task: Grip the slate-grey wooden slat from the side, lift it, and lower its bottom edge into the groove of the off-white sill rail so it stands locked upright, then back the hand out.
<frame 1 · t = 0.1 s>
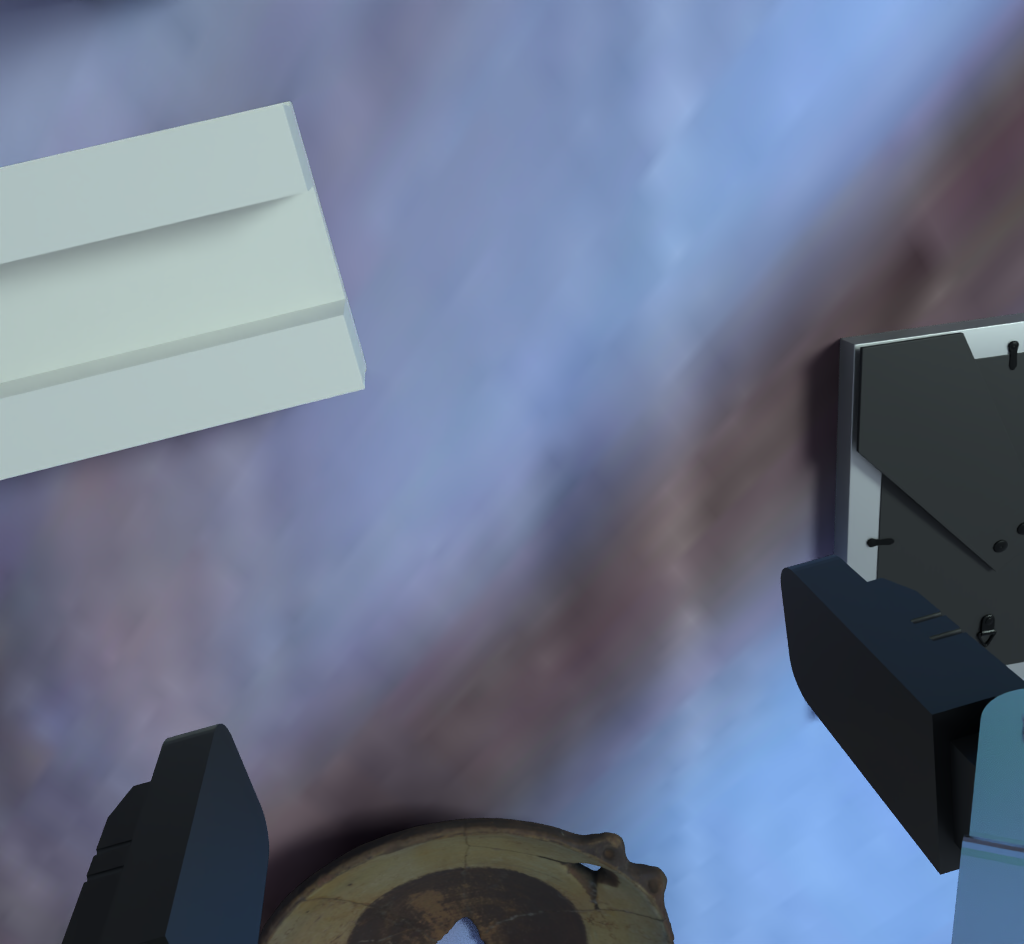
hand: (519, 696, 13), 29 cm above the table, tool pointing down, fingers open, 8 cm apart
oil lamp: (412, 941, 53), on the table
picture frame: (966, 506, 49), on the table
sill rail: (117, 291, 38), on the table
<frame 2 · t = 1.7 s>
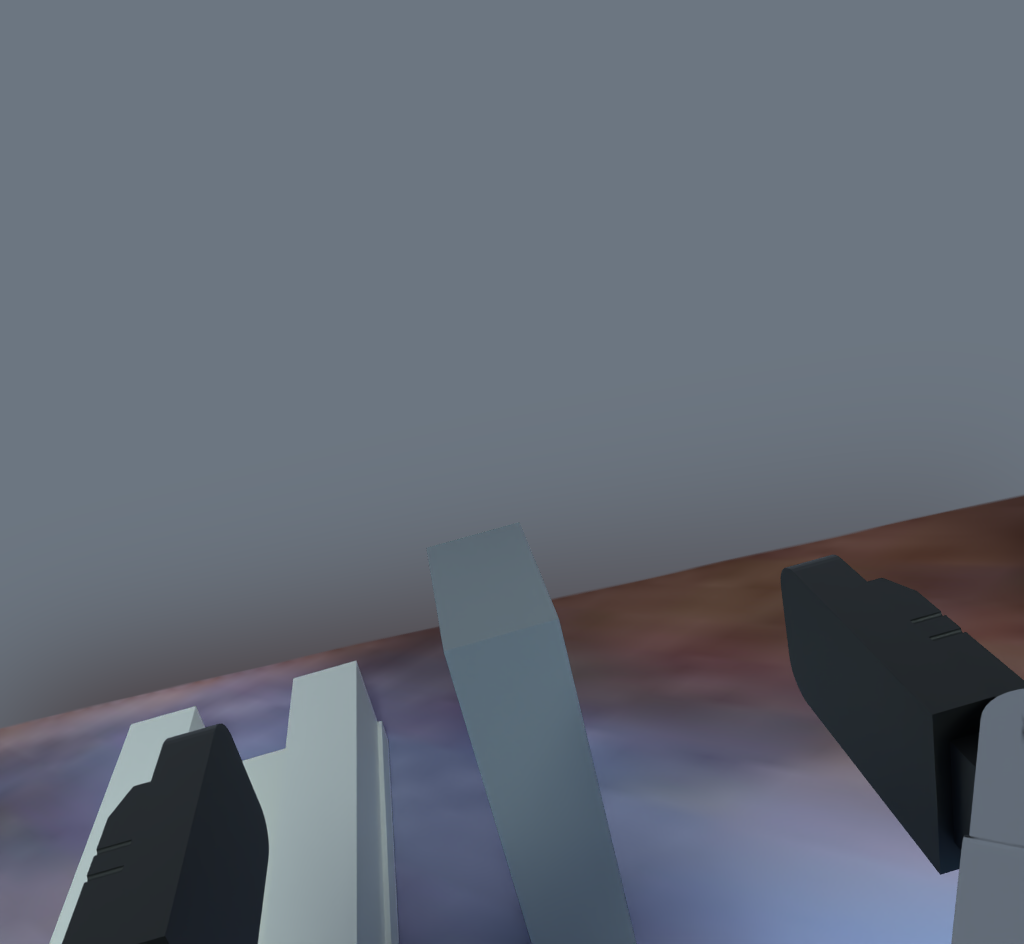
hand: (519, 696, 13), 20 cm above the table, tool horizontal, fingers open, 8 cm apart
sill rail: (259, 923, 36), on the table
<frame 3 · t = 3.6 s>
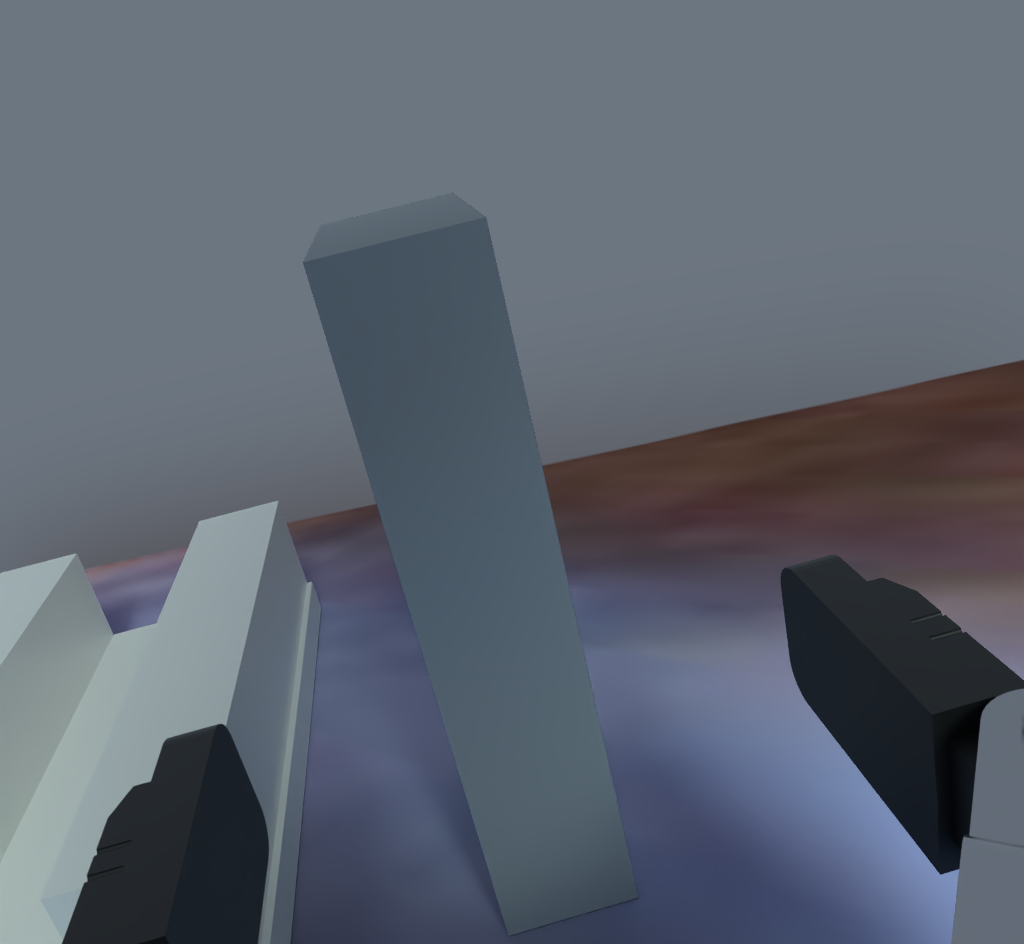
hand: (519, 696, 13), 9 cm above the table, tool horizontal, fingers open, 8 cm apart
slate slat: (548, 821, 23), on the table
sill rail: (128, 802, 27), on the table
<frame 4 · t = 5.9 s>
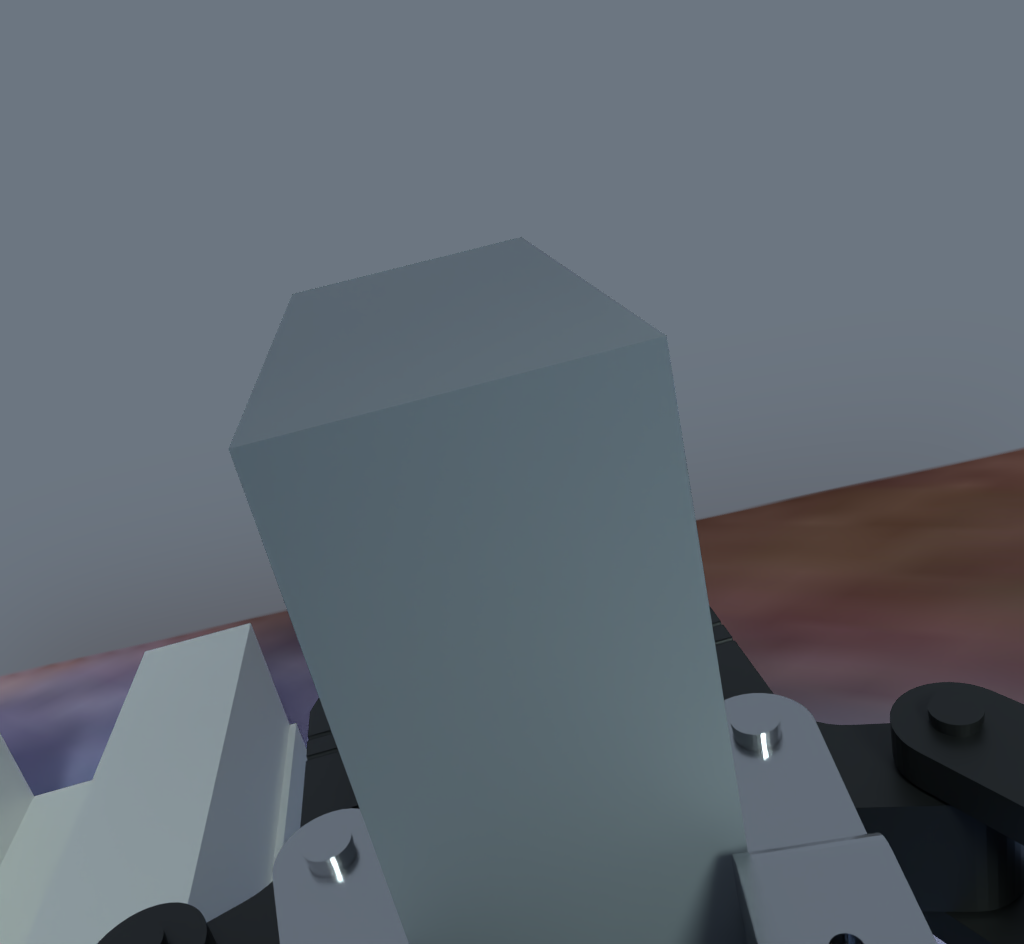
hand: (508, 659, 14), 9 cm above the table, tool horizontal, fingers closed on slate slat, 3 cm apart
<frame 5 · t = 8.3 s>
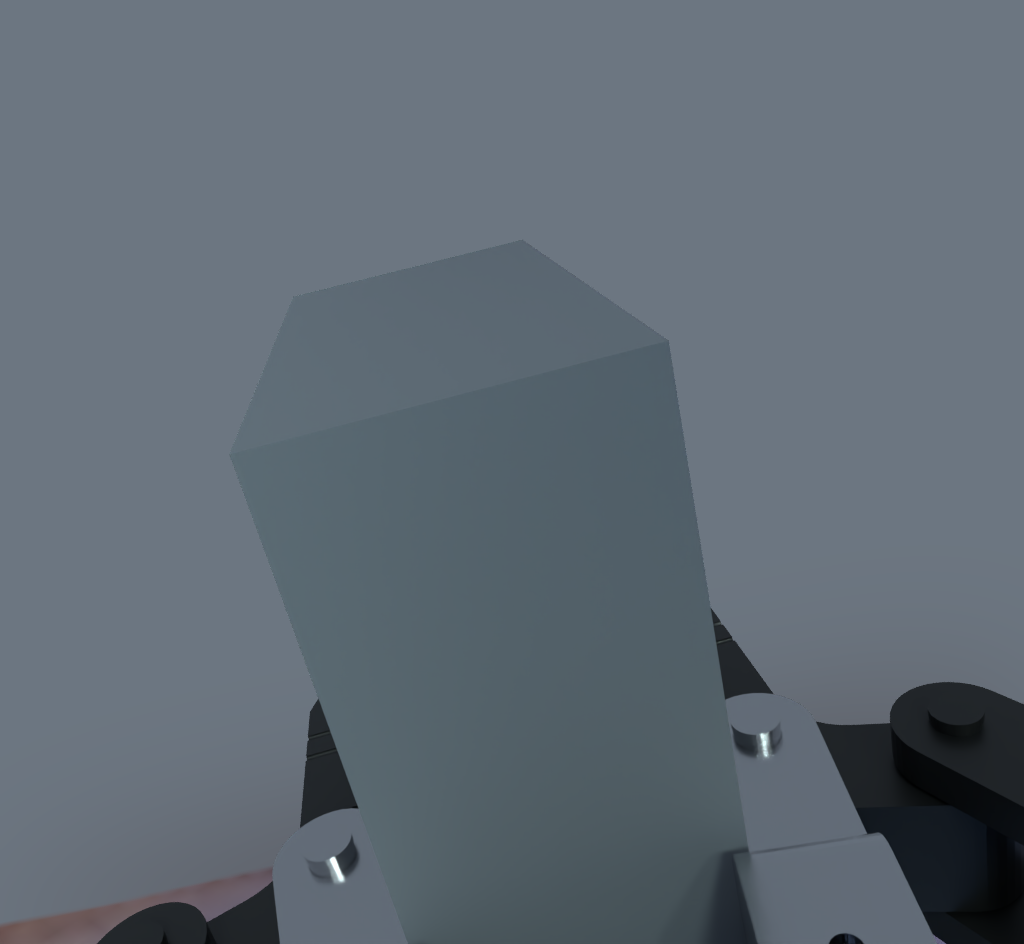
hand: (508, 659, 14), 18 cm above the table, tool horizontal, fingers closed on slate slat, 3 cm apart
when the fingers open (11 cm above the table, at t = 10.4 s): slate slat drops 1 cm, resting on sill rail.
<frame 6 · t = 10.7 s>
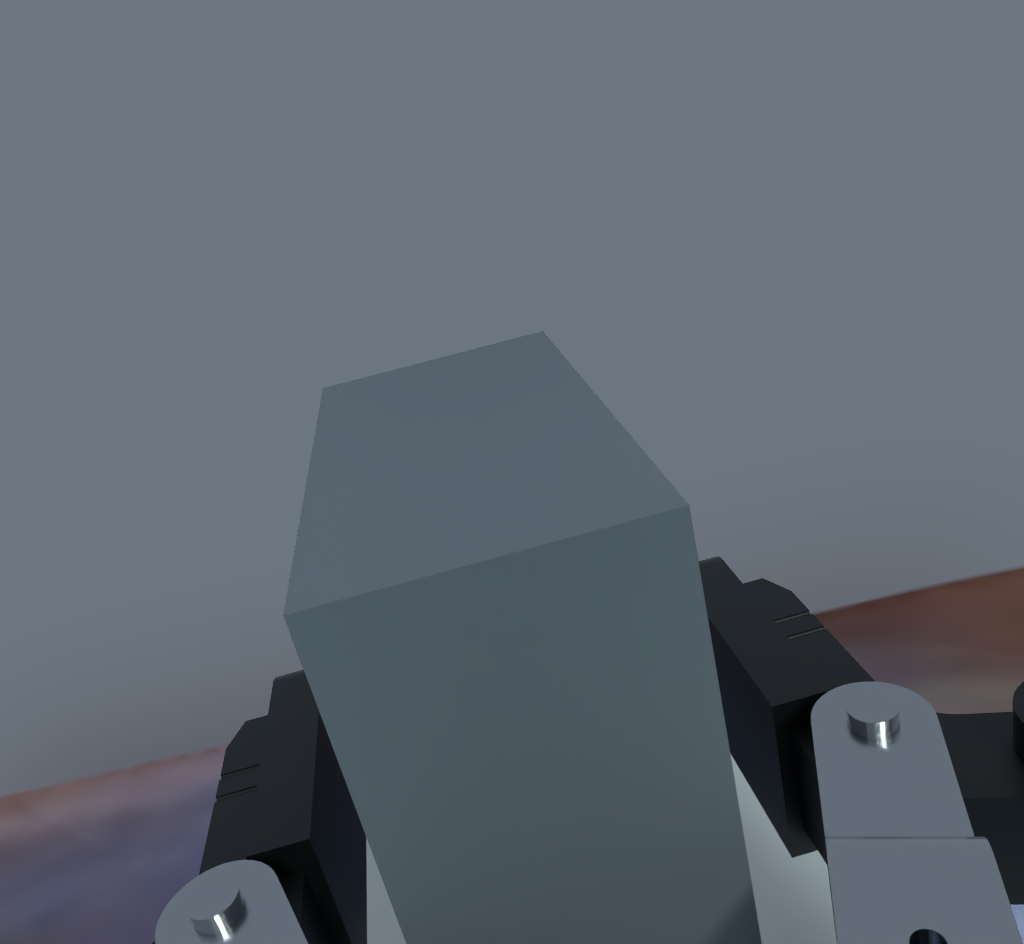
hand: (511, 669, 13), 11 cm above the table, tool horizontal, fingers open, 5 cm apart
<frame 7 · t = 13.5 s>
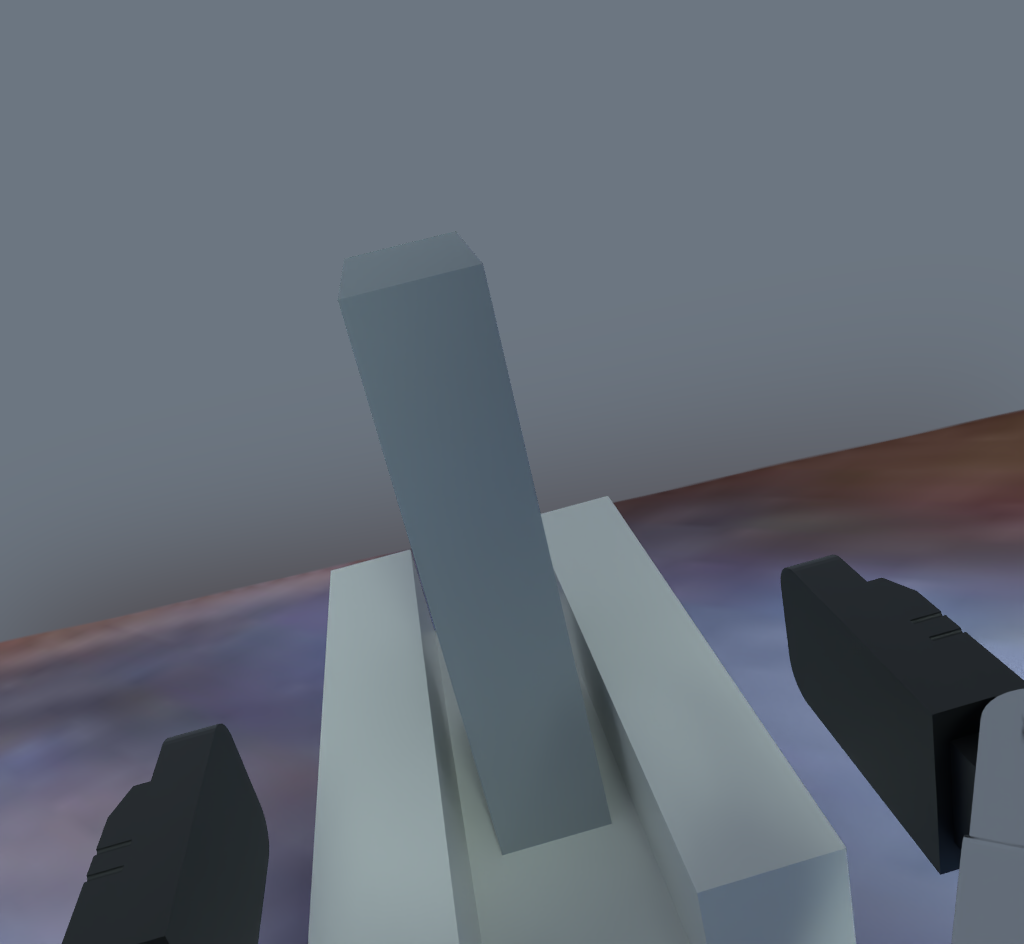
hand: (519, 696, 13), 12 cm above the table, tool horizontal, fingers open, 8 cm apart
slate slat: (537, 765, 27), point 1 cm above the table, touching sill rail
sill rail: (542, 797, 27), on the table
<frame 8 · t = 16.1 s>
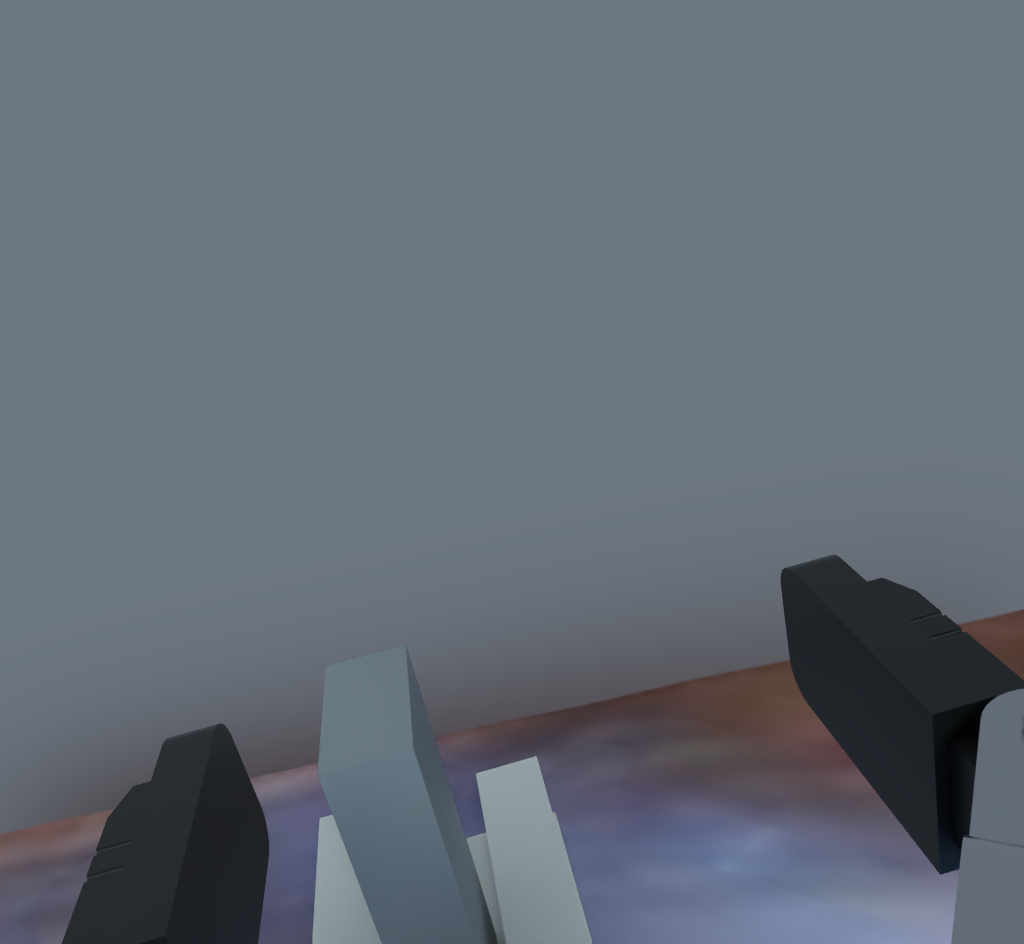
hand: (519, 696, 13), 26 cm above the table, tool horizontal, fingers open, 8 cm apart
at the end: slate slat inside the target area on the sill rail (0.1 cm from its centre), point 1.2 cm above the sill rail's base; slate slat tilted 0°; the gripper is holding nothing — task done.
